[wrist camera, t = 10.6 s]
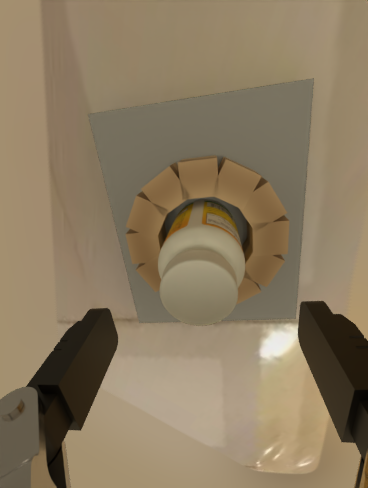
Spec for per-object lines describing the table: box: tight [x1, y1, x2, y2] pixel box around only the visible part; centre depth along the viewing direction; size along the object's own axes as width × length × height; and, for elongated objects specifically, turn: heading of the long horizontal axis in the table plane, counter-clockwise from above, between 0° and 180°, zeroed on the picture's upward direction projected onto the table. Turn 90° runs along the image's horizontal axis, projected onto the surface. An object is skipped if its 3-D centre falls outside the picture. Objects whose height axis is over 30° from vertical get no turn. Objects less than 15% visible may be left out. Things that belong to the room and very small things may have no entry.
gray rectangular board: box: [88, 78, 314, 323], centre depth 21 cm, size 20×16×2 cm
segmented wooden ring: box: [126, 155, 289, 305], centre depth 19 cm, size 12×12×3 cm
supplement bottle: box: [158, 200, 245, 326], centre depth 16 cm, size 5×5×10 cm
